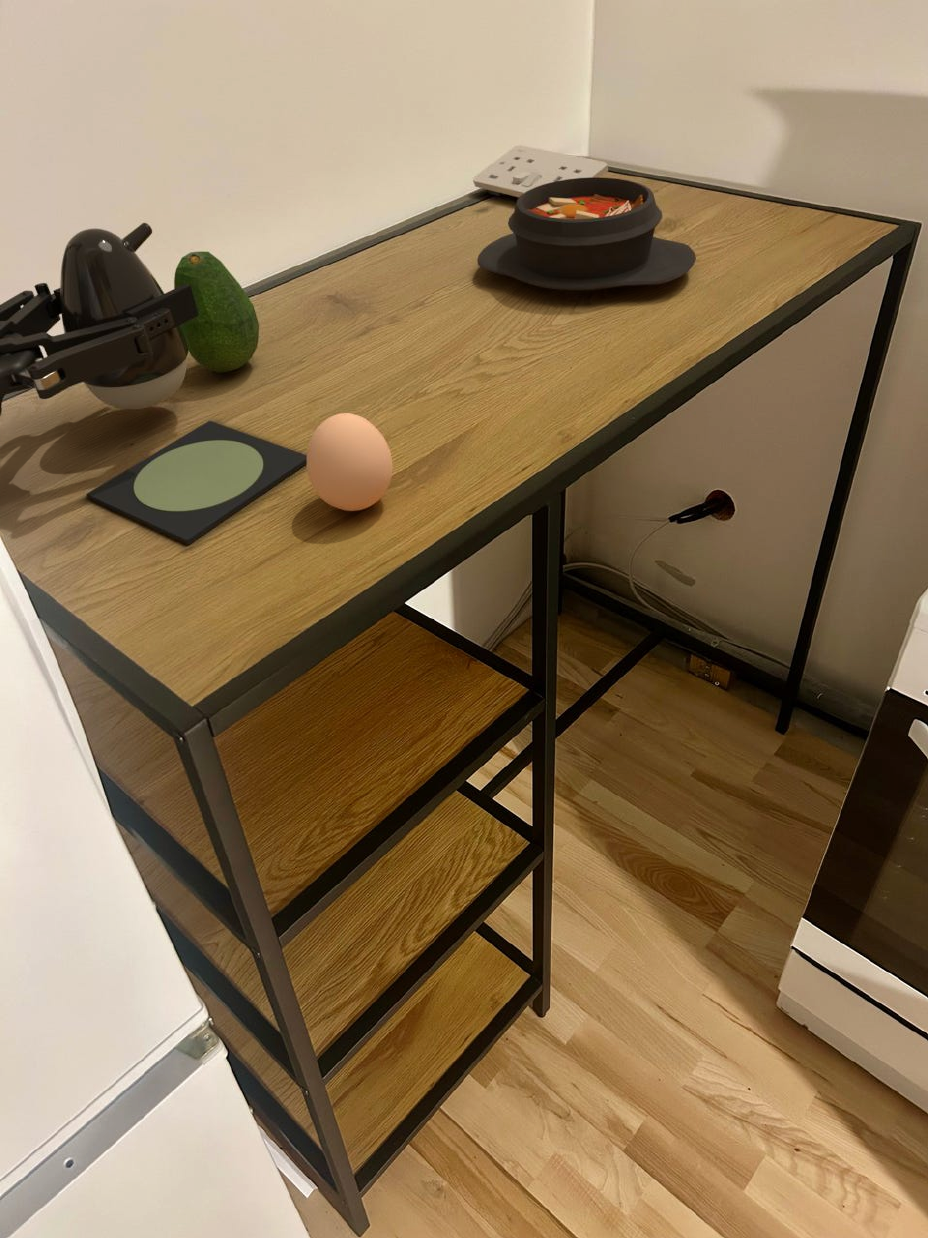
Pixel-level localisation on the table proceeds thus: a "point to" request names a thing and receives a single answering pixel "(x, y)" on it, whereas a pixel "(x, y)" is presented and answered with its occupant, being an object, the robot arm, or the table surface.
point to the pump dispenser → (119, 313)
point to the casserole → (587, 238)
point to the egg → (349, 462)
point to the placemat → (198, 481)
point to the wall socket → (534, 170)
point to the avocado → (217, 314)
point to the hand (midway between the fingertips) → (154, 289)
